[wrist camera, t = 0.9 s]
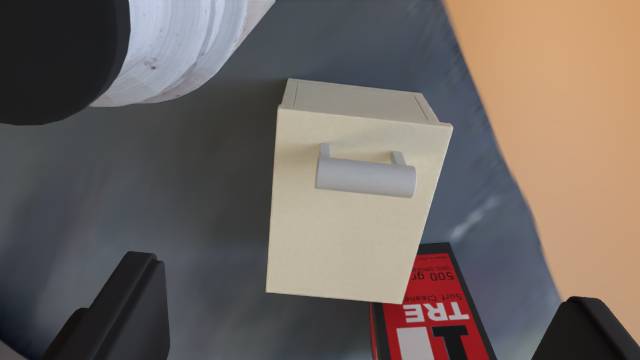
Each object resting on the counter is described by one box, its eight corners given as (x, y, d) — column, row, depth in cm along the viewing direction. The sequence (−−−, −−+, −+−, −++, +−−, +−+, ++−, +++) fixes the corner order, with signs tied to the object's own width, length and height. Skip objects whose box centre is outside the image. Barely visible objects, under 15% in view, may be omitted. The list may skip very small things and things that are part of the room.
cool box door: (278, 104, 28) (269, 136, 23) (450, 123, 29) (475, 158, 24) (266, 285, 36) (258, 336, 32) (400, 297, 37) (411, 349, 32)
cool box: (288, 77, 36) (277, 114, 28) (421, 93, 37) (447, 133, 29) (277, 224, 44) (266, 285, 36) (387, 235, 45) (400, 297, 37)
